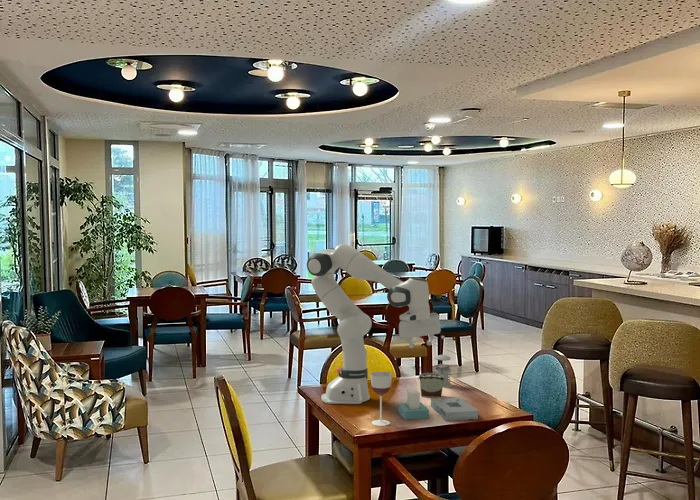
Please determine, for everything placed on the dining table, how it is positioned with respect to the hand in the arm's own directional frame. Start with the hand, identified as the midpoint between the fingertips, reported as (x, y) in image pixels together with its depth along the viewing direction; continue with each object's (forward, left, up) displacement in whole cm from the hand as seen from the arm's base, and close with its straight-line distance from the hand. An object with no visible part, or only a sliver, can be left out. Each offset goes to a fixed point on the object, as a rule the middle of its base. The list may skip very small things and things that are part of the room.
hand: (420, 346), depth 269 cm
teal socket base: (-5, -6, -28) cm, 29 cm away
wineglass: (-21, -14, -28) cm, 38 cm away
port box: (+13, -6, -28) cm, 32 cm away
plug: (-5, -6, -28) cm, 29 cm away
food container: (+12, +22, -28) cm, 38 cm away
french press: (+23, +38, -28) cm, 53 cm away
